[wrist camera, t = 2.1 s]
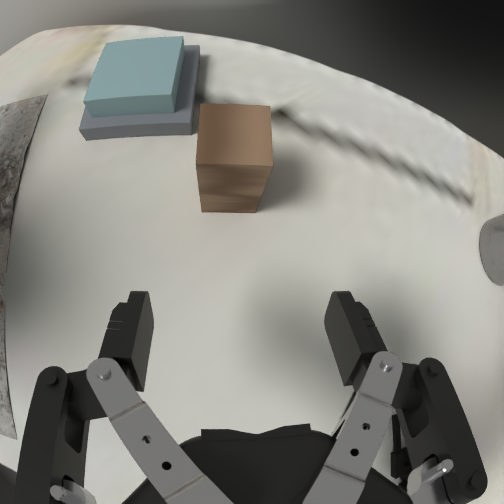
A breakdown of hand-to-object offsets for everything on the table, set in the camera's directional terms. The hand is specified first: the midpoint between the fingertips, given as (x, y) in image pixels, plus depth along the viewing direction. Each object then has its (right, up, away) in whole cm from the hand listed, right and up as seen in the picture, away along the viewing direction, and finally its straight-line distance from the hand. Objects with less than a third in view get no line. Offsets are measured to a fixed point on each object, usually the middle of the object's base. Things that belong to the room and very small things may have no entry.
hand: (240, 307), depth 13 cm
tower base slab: (-12, +20, +18) cm, 30 cm away
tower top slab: (-12, +21, +15) cm, 28 cm away
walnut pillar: (-2, +9, +16) cm, 19 cm away
